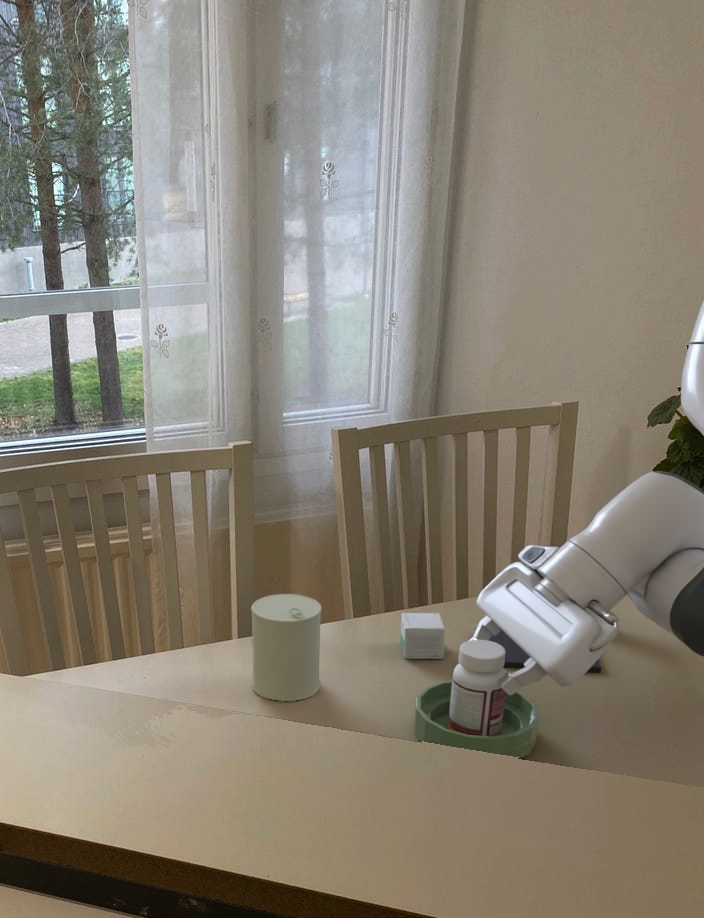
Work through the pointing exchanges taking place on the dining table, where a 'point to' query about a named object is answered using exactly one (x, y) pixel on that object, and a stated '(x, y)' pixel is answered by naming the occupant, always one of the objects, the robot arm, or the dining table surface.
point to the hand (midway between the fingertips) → (485, 670)
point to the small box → (422, 636)
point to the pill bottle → (478, 689)
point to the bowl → (511, 741)
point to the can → (286, 647)
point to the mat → (521, 652)
